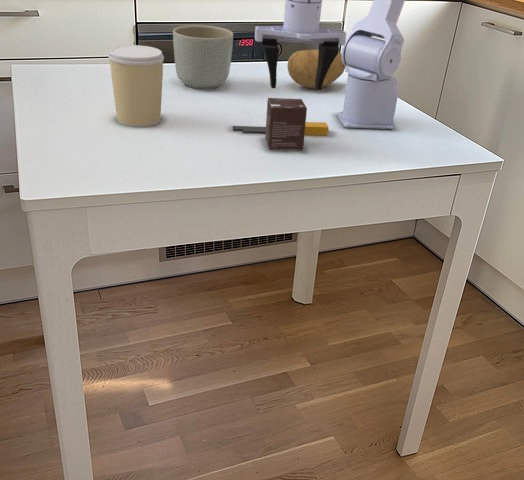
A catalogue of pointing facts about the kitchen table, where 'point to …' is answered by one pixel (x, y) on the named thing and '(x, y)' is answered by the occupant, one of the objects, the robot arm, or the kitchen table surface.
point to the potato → (312, 68)
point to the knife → (310, 129)
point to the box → (285, 124)
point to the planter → (202, 55)
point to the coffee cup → (137, 84)
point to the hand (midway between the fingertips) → (295, 87)
